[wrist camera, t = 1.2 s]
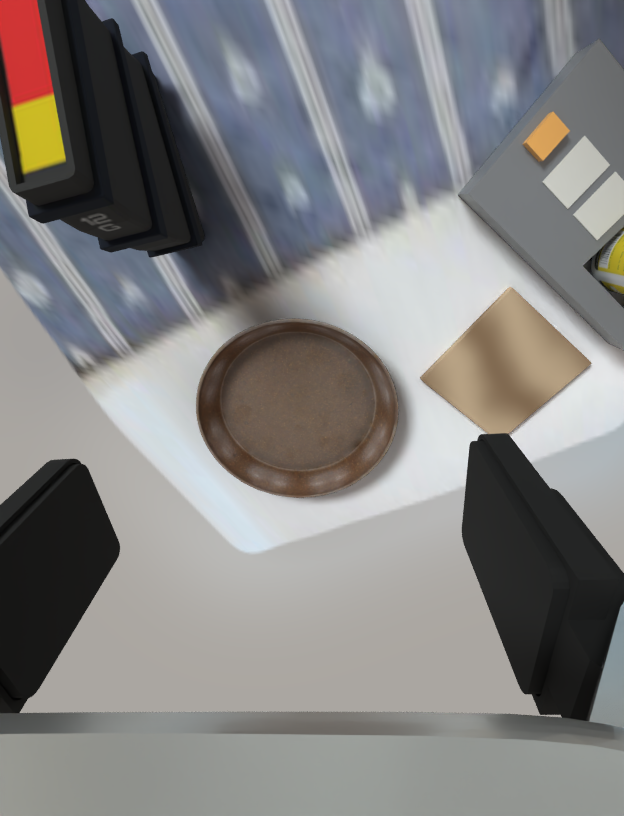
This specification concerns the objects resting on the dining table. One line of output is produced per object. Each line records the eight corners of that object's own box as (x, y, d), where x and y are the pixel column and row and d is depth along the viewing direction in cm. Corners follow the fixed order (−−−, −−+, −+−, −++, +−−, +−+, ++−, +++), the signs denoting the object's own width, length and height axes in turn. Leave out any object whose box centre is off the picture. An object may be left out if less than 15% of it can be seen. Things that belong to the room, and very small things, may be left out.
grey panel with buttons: (575, 53, 25) (605, 34, 23) (728, 241, 30) (769, 244, 27) (457, 194, 29) (471, 193, 26) (608, 343, 34) (633, 355, 31)
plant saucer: (417, 447, 39) (424, 465, 37) (258, 500, 43) (253, 520, 40) (353, 275, 32) (355, 281, 30) (168, 356, 36) (155, 369, 33)
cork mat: (509, 286, 32) (512, 288, 31) (587, 360, 34) (591, 363, 34) (420, 377, 36) (421, 380, 35) (496, 438, 38) (498, 441, 38)
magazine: (174, 294, 32) (5, 204, 17) (144, 130, 32) (-52, -106, 17) (218, 284, 31) (85, 182, 16) (188, 117, 31) (27, -138, 16)
